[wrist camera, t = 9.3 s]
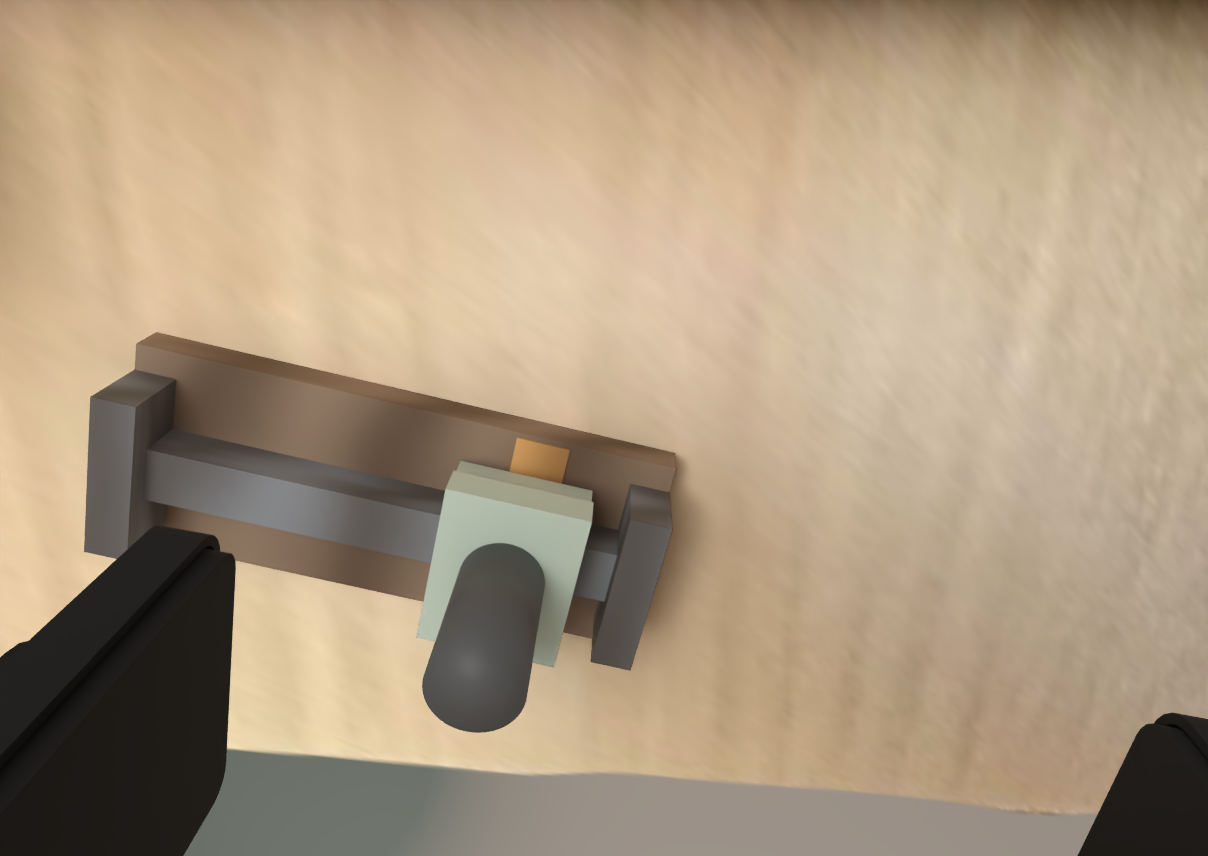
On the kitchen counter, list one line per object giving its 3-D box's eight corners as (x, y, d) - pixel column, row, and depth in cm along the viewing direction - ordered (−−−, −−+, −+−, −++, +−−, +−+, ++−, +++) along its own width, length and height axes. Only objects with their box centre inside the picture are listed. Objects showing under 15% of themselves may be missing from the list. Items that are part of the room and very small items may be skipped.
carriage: (595, 479, 35) (583, 621, 26) (560, 613, 37) (538, 788, 28) (463, 448, 34) (405, 582, 26) (435, 586, 37) (372, 753, 28)
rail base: (674, 453, 36) (680, 504, 32) (624, 624, 39) (623, 692, 35) (156, 332, 35) (91, 369, 31) (144, 518, 38) (83, 575, 34)
